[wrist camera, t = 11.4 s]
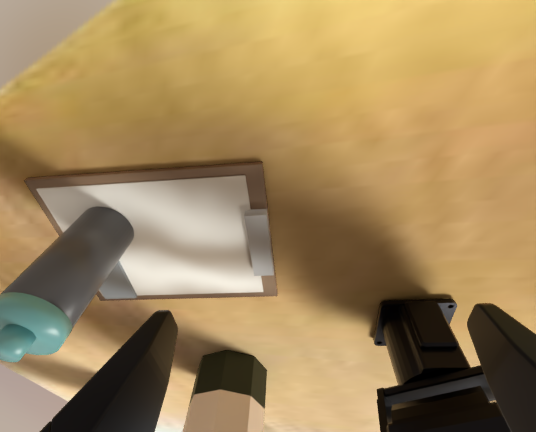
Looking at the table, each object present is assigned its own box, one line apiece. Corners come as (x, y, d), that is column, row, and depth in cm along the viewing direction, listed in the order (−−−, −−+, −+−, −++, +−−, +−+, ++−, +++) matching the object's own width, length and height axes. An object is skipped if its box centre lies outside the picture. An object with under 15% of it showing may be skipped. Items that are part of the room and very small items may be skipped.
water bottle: (142, 247, 24) (62, 375, 16) (95, 249, 24) (-8, 374, 16) (122, 204, 22) (16, 328, 13) (71, 207, 22) (-64, 328, 14)
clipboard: (277, 292, 27) (277, 303, 26) (102, 297, 29) (96, 307, 28) (262, 161, 20) (261, 169, 19) (27, 177, 21) (15, 185, 20)
